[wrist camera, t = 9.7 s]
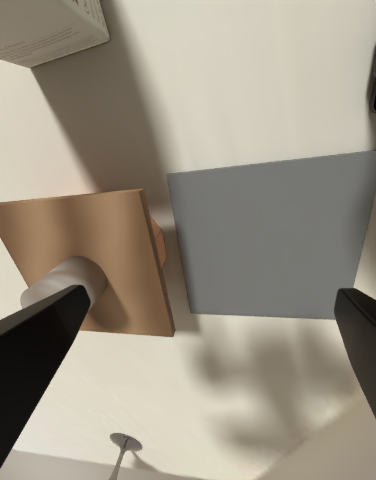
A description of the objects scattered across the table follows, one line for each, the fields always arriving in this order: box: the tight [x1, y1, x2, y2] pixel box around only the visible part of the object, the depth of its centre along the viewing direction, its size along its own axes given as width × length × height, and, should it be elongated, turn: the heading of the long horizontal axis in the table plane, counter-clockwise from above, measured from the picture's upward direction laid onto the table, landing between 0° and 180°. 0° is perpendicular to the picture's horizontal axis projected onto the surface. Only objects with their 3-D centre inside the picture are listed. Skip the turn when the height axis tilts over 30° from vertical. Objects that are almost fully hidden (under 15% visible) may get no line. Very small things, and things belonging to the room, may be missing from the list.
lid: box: [0, 188, 175, 337], centre depth 16 cm, size 13×13×5 cm
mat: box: [167, 150, 376, 319], centre depth 19 cm, size 15×15×1 cm
